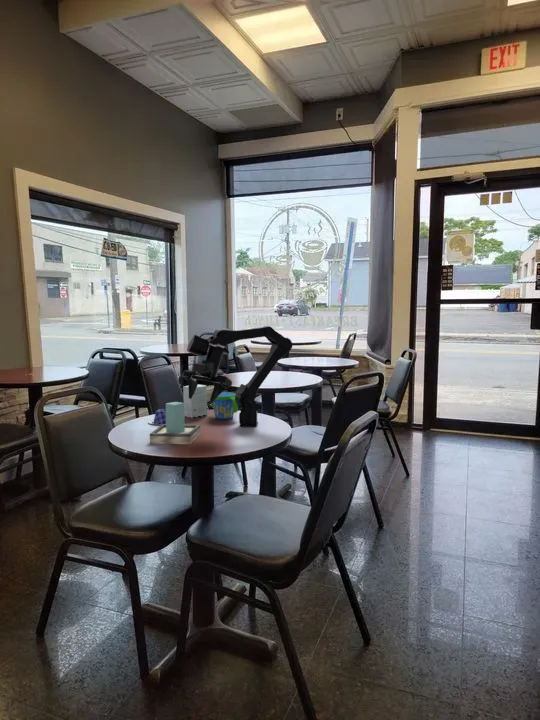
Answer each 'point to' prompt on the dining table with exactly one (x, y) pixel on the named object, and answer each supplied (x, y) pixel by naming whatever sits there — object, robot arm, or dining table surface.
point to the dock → (175, 435)
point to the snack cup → (225, 405)
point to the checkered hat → (159, 417)
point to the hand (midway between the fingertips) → (200, 400)
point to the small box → (195, 401)
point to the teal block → (175, 417)
